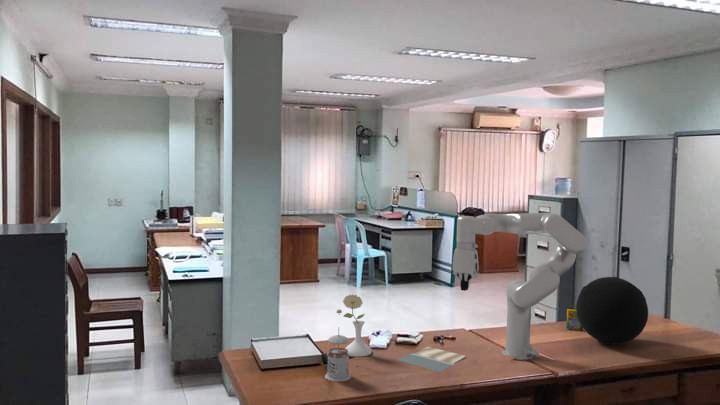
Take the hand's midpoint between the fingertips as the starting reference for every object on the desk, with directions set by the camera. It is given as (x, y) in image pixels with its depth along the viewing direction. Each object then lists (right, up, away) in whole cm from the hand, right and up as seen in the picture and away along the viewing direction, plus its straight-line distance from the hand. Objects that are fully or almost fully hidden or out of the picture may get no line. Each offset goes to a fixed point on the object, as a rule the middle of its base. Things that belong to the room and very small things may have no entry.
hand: (464, 289), depth 238 cm
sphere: (+69, -27, +21) cm, 77 cm away
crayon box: (+62, -26, +43) cm, 79 cm away
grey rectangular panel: (-18, -28, -13) cm, 35 cm away
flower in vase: (-45, -27, -2) cm, 52 cm away
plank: (-11, -27, -5) cm, 29 cm away
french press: (-52, -28, -26) cm, 64 cm away
